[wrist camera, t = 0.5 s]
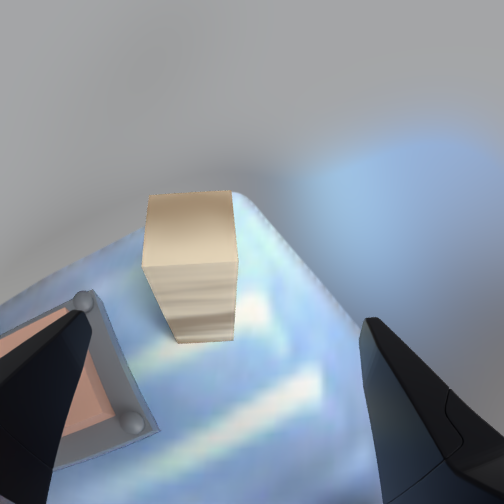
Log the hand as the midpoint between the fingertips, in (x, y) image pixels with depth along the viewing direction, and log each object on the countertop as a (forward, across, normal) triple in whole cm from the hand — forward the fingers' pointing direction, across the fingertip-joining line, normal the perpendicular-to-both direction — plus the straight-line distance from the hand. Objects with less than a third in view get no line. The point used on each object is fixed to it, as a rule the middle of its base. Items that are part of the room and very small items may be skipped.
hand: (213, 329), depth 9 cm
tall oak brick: (+12, +4, +10) cm, 16 cm away
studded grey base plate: (+4, +15, +13) cm, 20 cm away
